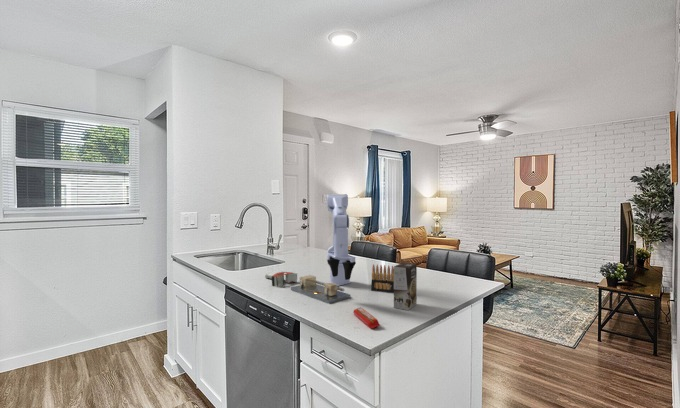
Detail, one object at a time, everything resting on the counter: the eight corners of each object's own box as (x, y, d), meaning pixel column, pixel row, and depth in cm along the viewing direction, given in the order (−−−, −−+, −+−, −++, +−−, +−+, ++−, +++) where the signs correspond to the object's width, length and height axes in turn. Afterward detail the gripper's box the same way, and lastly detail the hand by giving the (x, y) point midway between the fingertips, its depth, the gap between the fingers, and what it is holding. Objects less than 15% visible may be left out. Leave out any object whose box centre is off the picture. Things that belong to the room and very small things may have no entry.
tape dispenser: (266, 280, 179) (259, 288, 159) (266, 270, 179) (259, 277, 159) (299, 278, 180) (297, 286, 160) (299, 268, 180) (296, 274, 160)
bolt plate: (311, 285, 162) (311, 282, 162) (350, 297, 142) (350, 294, 142) (290, 289, 154) (290, 287, 154) (329, 303, 134) (328, 300, 134)
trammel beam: (310, 283, 160) (310, 275, 160) (345, 294, 142) (345, 284, 142) (298, 286, 156) (298, 277, 155) (333, 298, 138) (332, 287, 138)
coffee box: (409, 310, 126) (409, 267, 125) (393, 307, 129) (393, 266, 129) (417, 304, 133) (417, 263, 133) (402, 301, 137) (401, 261, 136)
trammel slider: (331, 292, 145) (331, 282, 145) (337, 294, 142) (337, 284, 142) (323, 294, 142) (323, 284, 142) (329, 296, 139) (329, 286, 139)
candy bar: (351, 314, 123) (351, 306, 123) (361, 313, 124) (361, 305, 124) (370, 331, 108) (370, 321, 108) (381, 329, 109) (381, 320, 109)
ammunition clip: (371, 290, 152) (370, 264, 152) (372, 289, 154) (372, 263, 154) (394, 293, 148) (394, 266, 148) (395, 292, 150) (395, 265, 150)
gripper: (322, 243, 139) (322, 276, 140) (346, 247, 129) (346, 282, 129) (334, 242, 144) (335, 273, 144) (359, 245, 133) (359, 279, 134)
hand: (341, 277), depth 137 cm, fingers open, 7 cm apart
